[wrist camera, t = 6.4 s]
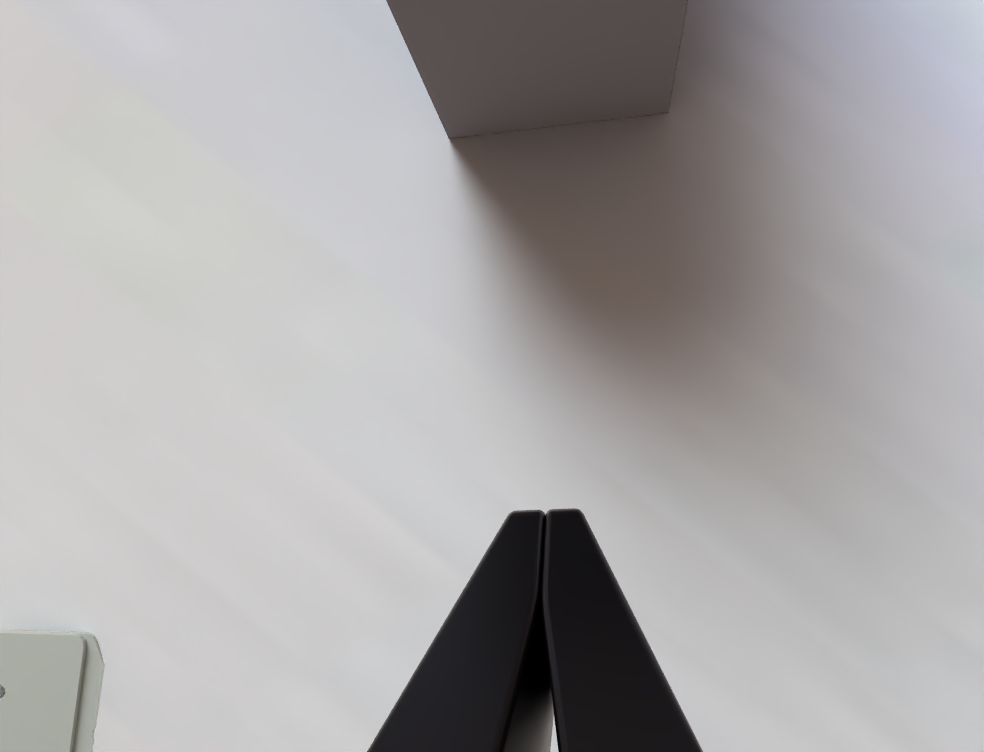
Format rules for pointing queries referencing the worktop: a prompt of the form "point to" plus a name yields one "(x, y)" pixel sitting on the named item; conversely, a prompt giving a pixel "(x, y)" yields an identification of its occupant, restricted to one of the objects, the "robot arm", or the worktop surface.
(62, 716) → the metal bracket
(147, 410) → the worktop surface
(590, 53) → the grey rectangular box
